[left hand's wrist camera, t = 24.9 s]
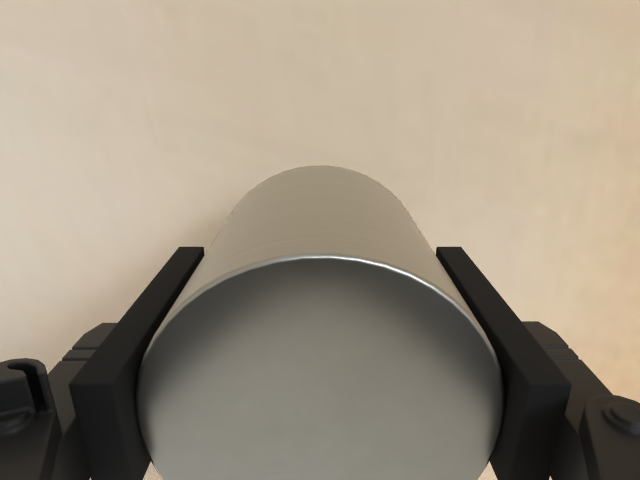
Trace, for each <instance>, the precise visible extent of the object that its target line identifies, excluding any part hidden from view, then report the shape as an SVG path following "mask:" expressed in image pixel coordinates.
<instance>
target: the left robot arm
mask: <svg viewBox="0 0 640 480" xmlns="http://www.w3.org/2000/svg"><path fill="white" fill-rule="evenodd" d="M203 257H204V247H179V248H178V249H177V251H176V252H175V253H174V254H173V255H172V257H171V258H170V259H169V260H168V262H167V263H166V264H165V265H164V267H163V268H162V269H161V270H160V272H159V273H158V274H157V275H156V277H155V278H154V279H153V280H152V281H151V283H150V284H149V285H148V286H147V288H146V289H145V290H144V291H143V293H142V294H141V295H140V296H139V298H138V299H137V300H136V301H135V302H134V304H133V305H132V306H131V307H130V309H129V310H128V311H127V312H126V314H125V315H124V316H123V317H122V319H121V320H120V321H119V322H118V323H102V324H100V325H98V326H97V327H95V328H93V329H92V330H90V331H89V332H87V333H85V334H84V335H83V336H82V337H81V338H80V339H79V340H78V342H77V343H76V344H75V345H74V346H73V347H72V350H69V352H68V353H67V354H66V355H65V356H64V357H63V358H62V361H60V362H59V363H58V364H57V365H56V366H55V367H54V368H53V369H52V370H51V371H50V373H49V374H48V375H47V371H46V367H45V365H44V364H43V363H41V362H40V361H39V360H35V359H28V358H23V359H12V360H8V361H4V362H0V480H89V479H90V477H91V480H143V478H144V475H145V473H146V471H147V468H148V466H149V464H150V461H151V460H150V458H149V456H148V454H147V452H146V450H145V447H144V444H143V441H142V439H141V436H140V432H139V427H138V422H137V417H136V387H137V379H138V373H139V370H140V367H141V364H142V360H143V357H144V354H145V352H146V350H147V348H148V346H149V344H150V342H151V340H152V338H153V336H154V334H155V333H156V331H157V330H158V328H159V327H160V325H161V323H162V322H163V320H164V319H165V317H166V315H167V314H168V312H169V311H170V309H171V308H172V306H173V304H174V303H175V301H176V300H177V298H178V297H179V295H180V293H181V292H182V290H183V289H184V287H185V285H186V284H187V282H188V281H189V279H190V278H191V276H192V274H193V273H194V271H195V270H196V268H197V267H198V265H199V263H200V262H201V260H202V259H203ZM436 257H437V258H438V260H439V261H440V263H441V264H442V266H443V268H444V269H445V271H446V272H447V274H448V276H449V277H450V279H451V280H452V282H453V283H454V285H455V287H456V288H457V290H458V291H459V293H460V294H461V296H462V298H463V299H464V301H465V302H466V304H467V305H468V307H469V309H470V310H471V312H472V313H473V315H474V317H475V318H476V320H477V321H478V323H479V324H480V326H481V328H482V329H483V331H484V332H485V334H486V336H487V338H488V340H489V342H490V343H491V345H492V347H493V349H494V351H495V354H496V357H497V360H498V363H499V365H500V368H501V372H502V378H503V384H504V390H505V391H504V417H503V423H502V429H501V433H500V436H499V439H498V442H497V445H496V448H495V451H494V453H493V455H492V456H491V458H490V460H489V461H490V463H491V465H492V468H493V470H494V472H495V475H496V477H497V479H498V480H549V477H550V476H551V478H552V480H640V403H638V402H636V401H634V400H631V399H627V398H624V397H621V396H616V395H613V394H612V393H611V392H610V391H609V390H608V389H607V388H606V387H605V386H604V384H603V383H602V382H601V381H600V380H599V379H598V378H597V377H596V376H595V375H594V373H593V372H592V371H591V370H590V369H589V368H588V367H587V366H586V365H585V364H584V362H583V361H582V360H579V359H578V356H577V355H576V354H575V353H574V351H573V350H572V349H569V348H568V345H567V344H566V343H565V342H564V340H563V339H562V338H561V337H560V336H559V335H558V334H557V333H556V332H554V331H553V330H551V329H549V328H548V327H546V326H545V325H543V324H541V323H540V322H521V321H520V319H519V318H518V317H517V316H516V314H515V313H514V312H513V311H512V310H511V308H510V307H509V306H508V305H507V303H506V302H505V301H504V300H503V298H502V297H501V296H500V295H499V293H498V292H497V291H496V290H495V288H494V287H493V286H492V285H491V284H490V282H489V281H488V280H487V279H486V277H485V276H484V275H483V274H482V272H481V271H480V270H479V269H478V267H477V266H476V265H475V264H474V263H473V261H472V260H471V259H470V258H469V256H468V255H467V254H466V253H465V251H464V250H463V249H462V248H461V247H437V249H436Z"/></svg>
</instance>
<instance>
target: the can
mask: <svg viewBox="0 0 640 480" xmlns="http://www.w3.org/2000/svg"><path fill="white" fill-rule="evenodd" d="M504 391H505V390H504V384H503V378H502V372H501V368H500V365H499V363H498V360H497V357H496V354H495V351H494V349H493V347H492V345H491V343H490V342H489V340H488V338H487V336H486V334H485V332H484V331H483V329H482V328H481V326H480V324H479V323H478V321H477V320H476V318H475V317H474V315H473V313H472V312H471V310H470V309H469V307H468V305H467V304H466V302H465V301H464V299H463V298H462V296H461V294H460V293H459V291H458V290H457V288H456V287H455V285H454V283H453V282H452V280H451V279H450V277H449V276H448V274H447V272H446V271H445V269H444V268H443V266H442V264H441V263H440V261H439V260H438V258H437V257H436V255H435V253H434V252H433V250H432V249H431V247H430V246H429V244H428V242H427V241H426V239H425V238H424V236H423V235H422V233H421V231H420V230H419V228H418V227H417V225H416V223H415V222H414V220H413V219H412V217H411V216H410V214H409V212H408V211H407V210H406V208H405V207H404V206H403V204H402V203H401V202H400V200H399V199H398V198H397V197H396V196H395V195H394V194H393V193H392V192H391V191H389V190H388V189H387V188H385V187H384V186H383V185H381V184H380V183H379V182H377V181H375V180H373V179H371V178H370V177H368V176H366V175H363V174H361V173H358V172H356V171H352V170H349V169H345V168H341V167H333V166H307V167H300V168H295V169H292V170H288V171H285V172H282V173H280V174H277V175H275V176H273V177H270V178H269V179H267V180H265V181H264V182H262V183H260V184H259V185H257V186H256V187H255V188H254V189H252V190H251V191H250V192H249V193H247V195H246V196H245V197H244V198H243V199H242V200H241V201H240V202H239V203H238V204H237V206H236V207H235V209H234V210H233V212H232V213H231V214H230V216H229V218H228V219H227V221H226V222H225V224H224V226H223V227H222V229H221V230H220V232H219V233H218V235H217V237H216V238H215V240H214V241H213V243H212V244H211V246H210V248H209V249H208V251H207V252H206V254H205V255H204V257H203V259H202V260H201V262H200V263H199V265H198V267H197V268H196V270H195V271H194V273H193V274H192V276H191V278H190V279H189V281H188V282H187V284H186V285H185V287H184V289H183V290H182V292H181V293H180V295H179V297H178V298H177V300H176V301H175V303H174V304H173V306H172V308H171V309H170V311H169V312H168V314H167V315H166V317H165V319H164V320H163V322H162V323H161V325H160V327H159V328H158V330H157V331H156V333H155V334H154V336H153V338H152V340H151V342H150V344H149V346H148V348H147V350H146V352H145V354H144V357H143V360H142V364H141V367H140V370H139V373H138V379H137V387H136V417H137V422H138V427H139V432H140V436H141V439H142V441H143V444H144V447H145V450H146V452H147V454H148V456H149V458H150V460H151V462H152V463H153V465H154V467H155V469H156V470H157V472H158V473H159V474H160V476H161V477H162V478H163V480H477V479H478V478H479V476H480V475H481V473H482V472H483V471H484V469H485V468H486V466H487V464H488V462H489V460H490V458H491V456H492V455H493V453H494V451H495V448H496V445H497V442H498V439H499V436H500V433H501V429H502V423H503V417H504Z"/></svg>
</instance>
